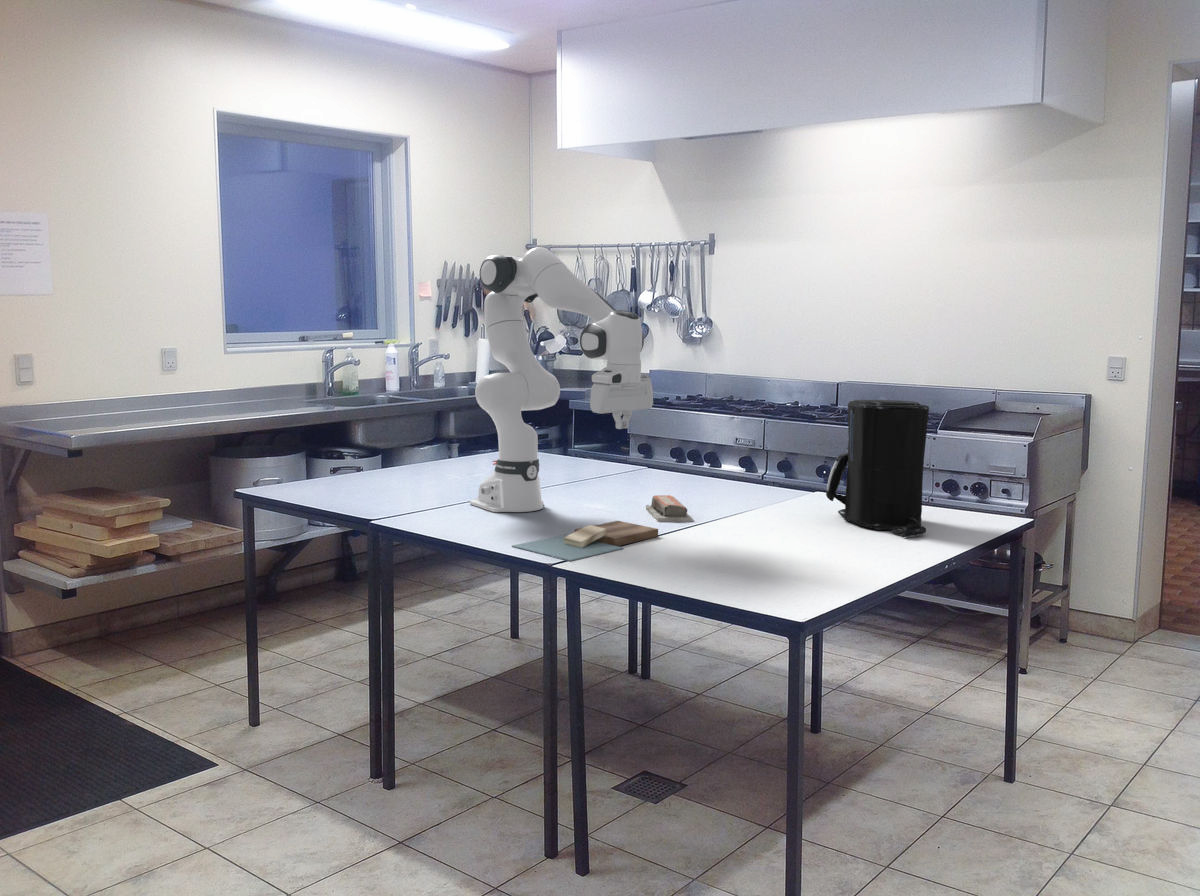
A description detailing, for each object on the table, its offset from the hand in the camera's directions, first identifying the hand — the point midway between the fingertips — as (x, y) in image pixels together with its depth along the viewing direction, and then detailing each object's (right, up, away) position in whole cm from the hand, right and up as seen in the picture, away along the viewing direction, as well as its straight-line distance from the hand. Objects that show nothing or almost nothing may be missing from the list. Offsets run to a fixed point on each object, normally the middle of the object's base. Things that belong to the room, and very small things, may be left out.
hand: (621, 428), depth 268 cm
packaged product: (+14, -25, +23) cm, 37 cm away
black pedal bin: (+69, -26, +14) cm, 75 cm away
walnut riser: (-1, -28, -5) cm, 28 cm away
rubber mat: (-13, -29, -18) cm, 37 cm away
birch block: (-9, -27, -14) cm, 32 cm away
